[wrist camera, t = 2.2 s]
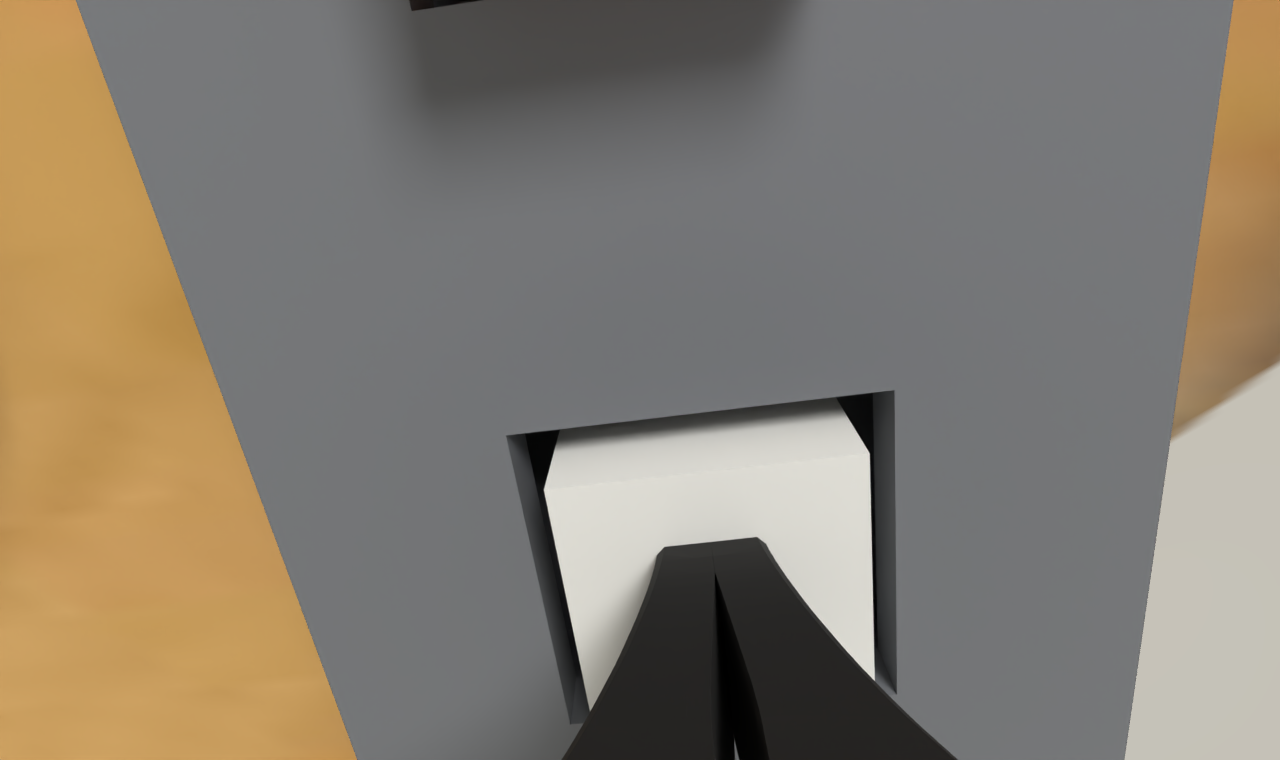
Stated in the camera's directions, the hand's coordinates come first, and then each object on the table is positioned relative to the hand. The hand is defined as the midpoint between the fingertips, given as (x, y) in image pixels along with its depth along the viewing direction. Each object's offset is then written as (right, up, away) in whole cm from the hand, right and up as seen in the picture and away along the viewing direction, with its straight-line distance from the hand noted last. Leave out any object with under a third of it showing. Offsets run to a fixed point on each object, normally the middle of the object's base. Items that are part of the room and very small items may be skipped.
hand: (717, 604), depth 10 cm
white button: (0, +2, +4) cm, 4 cm away
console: (-1, +7, +3) cm, 8 cm away
